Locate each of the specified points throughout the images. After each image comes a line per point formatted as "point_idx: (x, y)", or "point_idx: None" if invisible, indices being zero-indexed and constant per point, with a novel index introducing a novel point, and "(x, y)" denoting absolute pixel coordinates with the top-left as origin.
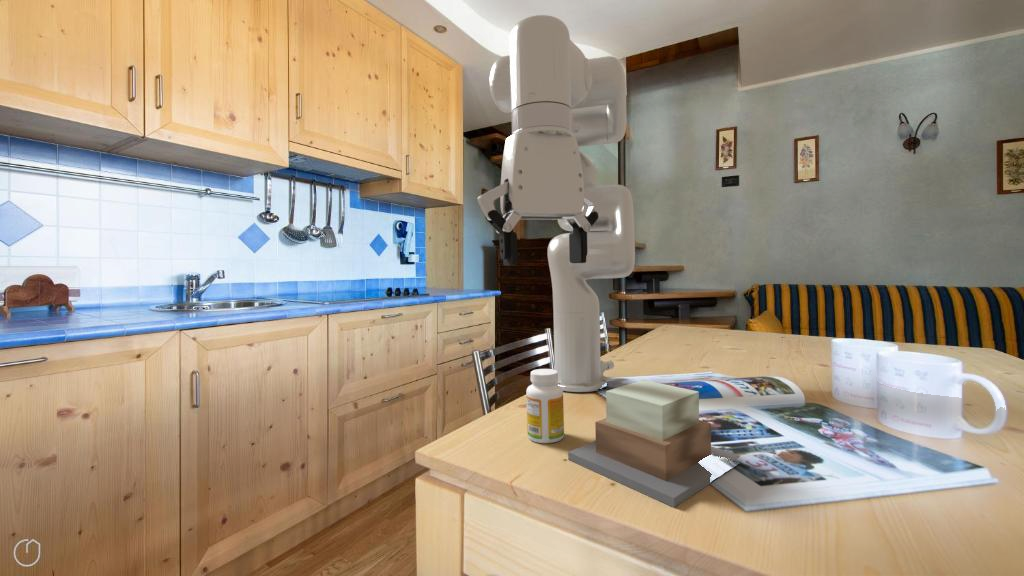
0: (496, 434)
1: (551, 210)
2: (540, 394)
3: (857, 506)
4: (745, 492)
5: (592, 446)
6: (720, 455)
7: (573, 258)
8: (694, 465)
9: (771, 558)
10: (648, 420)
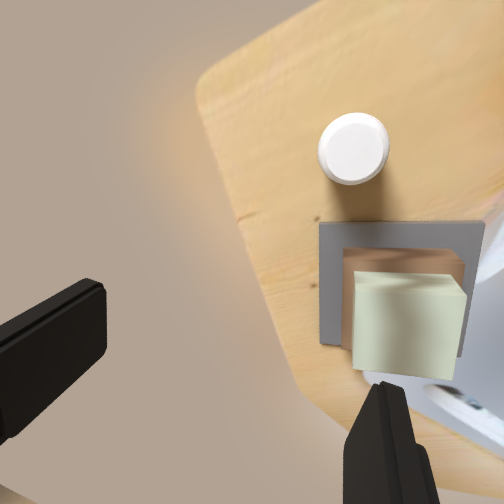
0: (300, 87)
1: None
2: (324, 171)
3: (434, 428)
4: None
5: (354, 233)
6: None
7: (365, 417)
8: None
9: (314, 396)
10: (352, 338)
